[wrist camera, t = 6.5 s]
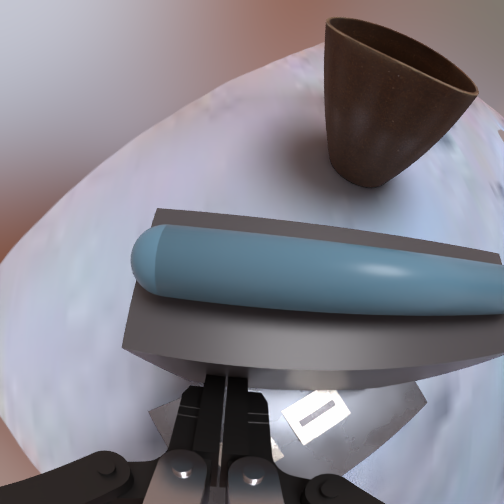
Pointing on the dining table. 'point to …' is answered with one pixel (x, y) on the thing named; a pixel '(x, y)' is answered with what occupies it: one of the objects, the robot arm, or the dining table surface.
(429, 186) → the dining table surface
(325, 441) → the panel
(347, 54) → the plant pot
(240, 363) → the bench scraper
